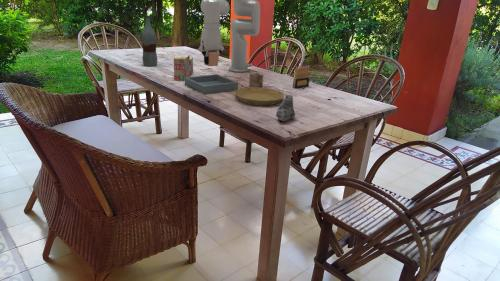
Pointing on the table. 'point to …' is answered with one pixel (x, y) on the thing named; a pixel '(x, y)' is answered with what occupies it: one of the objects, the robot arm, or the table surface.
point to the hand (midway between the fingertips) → (211, 63)
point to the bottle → (149, 45)
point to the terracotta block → (213, 58)
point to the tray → (211, 84)
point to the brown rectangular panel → (301, 77)
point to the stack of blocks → (182, 67)
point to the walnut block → (256, 80)
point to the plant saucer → (259, 96)
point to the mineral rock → (286, 109)
